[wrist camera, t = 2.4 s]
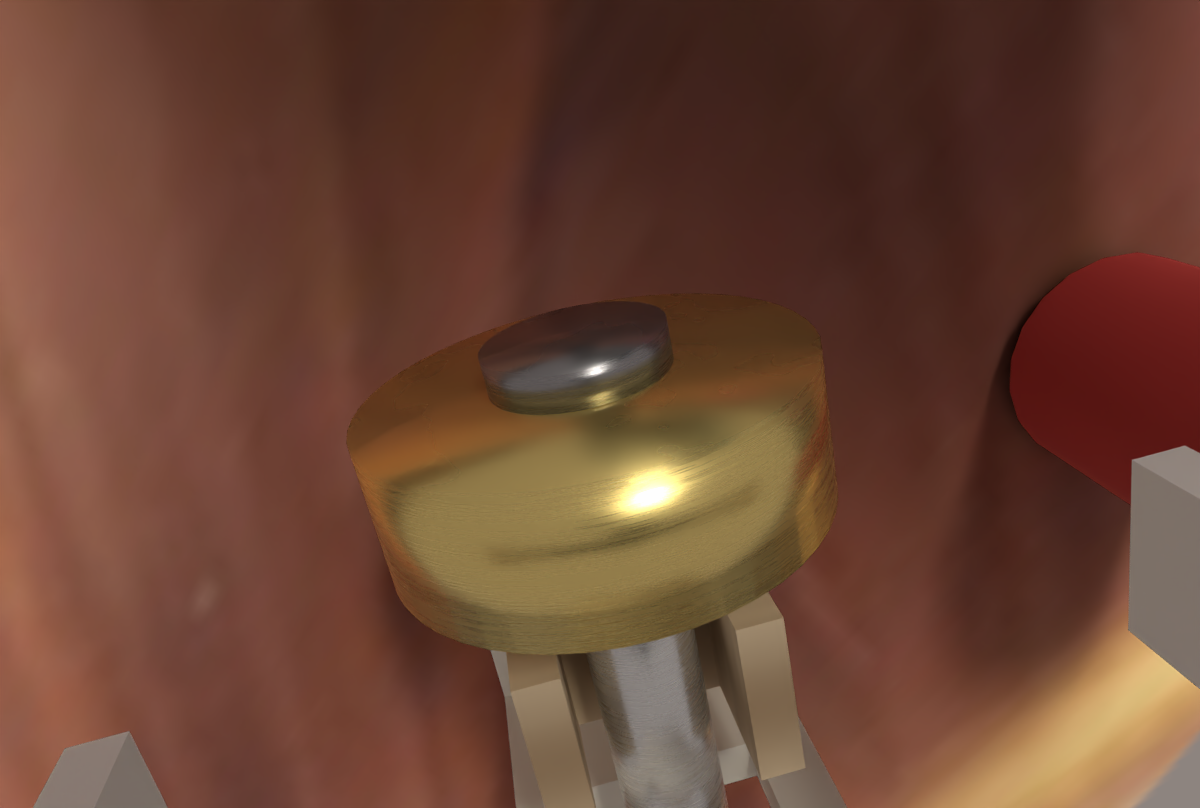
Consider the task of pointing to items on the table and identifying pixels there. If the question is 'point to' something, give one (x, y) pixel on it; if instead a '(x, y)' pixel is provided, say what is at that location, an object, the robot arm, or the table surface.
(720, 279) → the table surface
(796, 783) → the beige slotted stand
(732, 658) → the cradle
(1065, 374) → the beer can
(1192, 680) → the robot arm
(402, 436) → the gold disc on rod
